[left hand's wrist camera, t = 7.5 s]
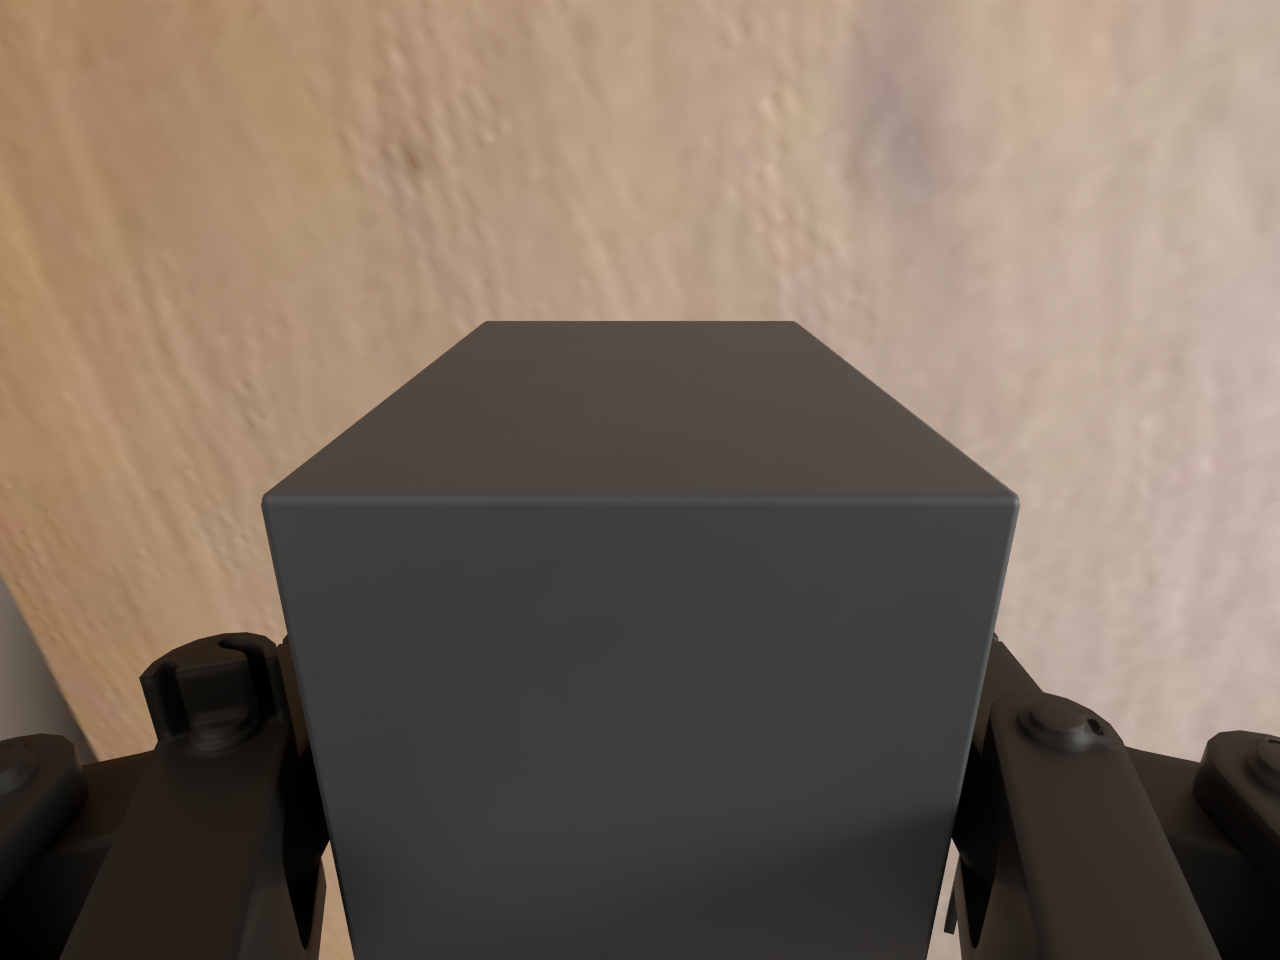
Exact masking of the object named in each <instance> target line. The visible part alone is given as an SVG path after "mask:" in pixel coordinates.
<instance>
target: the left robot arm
mask: <svg viewBox="0 0 1280 960" xmlns="http://www.w3.org/2000/svg"><path fill="white" fill-rule="evenodd" d="M139 679H140V682H141V685H142V689H143V692H144V695H145V699H146V702H147V705H148V709H149V712H150V715H151V719H152V722H153V725H154V729H155V732H156V735H157V739H158V742H157V744H156V747H155V749H154V750H151V751H147V752H144V753H140V754H135V755H130V756H125V757H121V758H116V759H111V760H106V761H102V762H97V763H92V764H87V765H83V766H81V763H80V760H79V757H78V754H77V752H76V749H75V746H74V744H73V743H72V742H70V741H69V740H68V739H66V738H65V737H63V736H60V735H51V734H35V735H28V736H22V737H15V738H11V739H7V740H3V741H0V960H318V958H319V949H320V940H321V931H322V922H323V913H324V904H325V895H326V880H325V873H324V868H323V863H322V859H321V856H322V854H323V852H324V850H325V848H326V846H327V844H328V842H329V840H330V838H329V833H328V828H327V824H326V819H325V814H324V809H323V804H322V799H321V794H320V789H319V785H318V780H317V775H316V770H315V765H314V760H313V755H312V750H311V746H310V741H309V736H308V731H307V726H306V721H305V716H304V711H303V707H302V702H301V697H300V692H299V687H298V682H297V677H296V673H295V668H294V663H293V658H292V653H291V648H290V643H289V638H288V634H287V635H286V637H285V638H284V639H283V644H279V645H278V646H277V648H276V644H275V643H274V642H272V641H271V640H270V639H268V638H267V637H266V636H263V635H258V634H253V633H248V632H243V633H224V634H219V635H215V636H211V637H206V638H202V639H198V640H195V641H193V642H190V643H188V644H185V645H183V646H181V647H178V648H176V649H173V650H171V651H170V652H168V653H167V654H165V655H164V656H162V657H161V658H159V659H157V660H156V661H154V662H153V663H152V664H151V665H150V666H149V667H148V668H147V669H146V670H145V672H144V673H143V674H142V675H141V676H140V677H139ZM952 839H953V841H954V843H955V845H956V847H957V849H958V852H959V859H958V863H957V868H956V873H955V877H954V882H953V887H952V891H951V896H950V901H949V905H948V910H947V915H946V921H945V927H944V932H946V933H950V934H954V931H955V927H956V922H957V920H958V929H959V938H960V947H961V956H962V960H1280V737H1276V736H1272V735H1268V734H1261V733H1255V732H1248V731H1241V730H1239V731H1230V732H1220V733H1218V734H1217V735H1215V736H1214V737H1213V738H1211V739H1210V740H1208V742H1207V745H1206V748H1205V751H1204V753H1203V756H1202V759H1201V762H1200V763H1199V762H1194V761H1189V760H1184V759H1180V758H1175V757H1170V756H1165V755H1161V754H1156V753H1151V752H1146V751H1141V750H1137V749H1134V748H1130V747H1126V746H1125V745H1124V743H1123V741H1122V739H1121V738H1120V736H1119V735H1118V734H1117V732H1116V731H1115V730H1114V728H1113V727H1112V726H1111V724H1109V723H1108V722H1107V721H1105V720H1104V719H1103V718H1101V717H1100V716H1099V715H1097V714H1096V713H1095V712H1093V711H1092V710H1091V709H1088V708H1086V707H1084V706H1082V705H1080V704H1078V703H1076V702H1074V701H1071V700H1069V699H1067V698H1063V697H1060V696H1056V695H1052V694H1048V693H1045V692H1043V691H1042V690H1041V689H1040V688H1039V687H1038V685H1037V684H1036V683H1035V682H1034V680H1033V679H1032V678H1031V677H1030V676H1029V674H1028V673H1027V672H1026V671H1025V669H1024V668H1023V667H1022V666H1021V665H1020V663H1019V662H1018V661H1017V660H1016V658H1015V657H1014V656H1013V655H1012V654H1011V652H1010V651H1009V650H1008V649H1007V647H1006V646H1005V645H1004V644H1003V643H1002V642H999V641H998V636H997V635H996V634H995V633H993V638H992V643H991V648H990V653H989V658H988V663H987V667H986V672H985V677H984V682H983V687H982V692H981V696H980V701H979V706H978V711H977V716H976V721H975V726H974V730H973V735H972V740H971V745H970V750H969V755H968V760H967V764H966V769H965V774H964V779H963V784H962V789H961V794H960V798H959V803H958V808H957V813H956V818H955V823H954V827H953V832H952Z"/></svg>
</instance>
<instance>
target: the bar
mask: <svg viewBox="0 0 1280 960" xmlns="http://www.w3.org/2000/svg"><path fill="white" fill-rule="evenodd" d="M261 507H262V512H263V517H264V521H265V526H266V531H267V536H268V541H269V546H270V551H271V556H272V560H273V565H274V570H275V575H276V580H277V585H278V590H279V595H280V599H281V604H282V609H283V614H284V619H285V624H286V629H287V634H288V638H289V643H290V648H291V653H292V658H293V663H294V668H295V673H296V677H297V682H298V687H299V692H300V697H301V702H302V707H303V711H304V716H305V721H306V726H307V731H308V736H309V741H310V746H311V750H312V755H313V760H314V765H315V770H316V775H317V780H318V785H319V789H320V794H321V799H322V804H323V809H324V814H325V819H326V824H327V828H328V833H329V838H330V843H331V848H332V853H333V858H334V863H335V867H336V872H337V877H338V882H339V887H340V892H341V897H342V902H343V906H344V911H345V916H346V921H347V926H348V931H349V936H350V941H351V945H352V950H353V955H354V960H926V958H927V954H928V949H929V944H930V939H931V934H932V929H933V925H934V920H935V915H936V910H937V905H938V900H939V895H940V891H941V886H942V881H943V876H944V871H945V866H946V861H947V857H948V852H949V847H950V842H951V837H952V832H953V827H954V823H955V818H956V813H957V808H958V803H959V798H960V794H961V789H962V784H963V779H964V774H965V769H966V764H967V760H968V755H969V750H970V745H971V740H972V735H973V730H974V726H975V721H976V716H977V711H978V706H979V701H980V696H981V692H982V687H983V682H984V677H985V672H986V667H987V663H988V658H989V653H990V648H991V643H992V638H993V633H994V629H995V624H996V619H997V614H998V609H999V604H1000V599H1001V595H1002V590H1003V585H1004V580H1005V575H1006V570H1007V565H1008V561H1009V556H1010V551H1011V546H1012V541H1013V536H1014V532H1015V527H1016V522H1017V517H1018V512H1019V507H1020V503H1019V498H1018V495H1017V494H1015V493H1014V492H1013V491H1012V490H1010V489H1009V488H1008V487H1007V486H1005V485H1004V484H1003V483H1001V482H1000V481H999V480H998V479H996V478H995V477H994V476H992V475H991V474H990V473H989V472H987V471H986V470H985V469H983V468H982V467H981V466H980V465H978V464H977V463H976V462H975V461H973V460H972V459H971V458H969V457H968V456H967V455H966V454H964V453H963V452H962V451H960V450H959V449H958V448H957V447H955V446H954V445H953V444H951V443H950V442H949V441H948V440H946V439H945V438H944V437H943V436H941V435H940V434H939V433H937V432H936V431H935V430H934V429H932V428H931V427H930V426H928V425H927V424H926V423H925V422H923V421H922V420H921V419H919V418H918V417H917V416H916V415H914V414H913V413H912V412H911V411H909V410H908V409H907V408H905V407H904V406H903V405H902V404H900V403H899V402H898V401H896V400H895V399H894V398H893V397H891V396H890V395H889V394H887V393H886V392H885V391H884V390H882V389H881V388H880V387H879V386H877V385H876V384H875V383H873V382H872V381H871V380H870V379H868V378H867V377H866V376H864V375H863V374H862V373H861V372H859V371H858V370H857V369H855V368H854V367H853V366H852V365H850V364H849V363H848V362H846V361H845V360H844V359H843V358H841V357H840V356H839V355H838V354H836V353H835V352H834V351H832V350H831V349H830V348H829V347H827V346H826V345H825V344H823V343H822V342H821V341H820V340H818V339H817V338H816V337H814V336H813V335H812V334H811V333H809V332H808V331H807V330H806V329H804V328H803V327H802V326H800V325H799V324H798V323H796V322H794V321H486V322H484V323H483V324H481V325H480V326H479V327H477V328H476V329H475V330H474V331H472V332H471V333H470V334H469V335H467V336H466V337H465V338H463V339H462V340H461V341H460V342H458V343H457V344H456V345H454V346H453V347H452V348H451V349H449V350H448V351H447V352H446V353H444V354H443V355H442V356H440V357H439V358H438V359H437V360H435V361H434V362H433V363H431V364H430V365H429V366H428V367H426V368H425V369H424V370H423V371H421V372H420V373H419V374H417V375H416V376H415V377H414V378H412V379H411V380H410V381H408V382H407V383H406V384H405V385H403V386H402V387H401V388H400V389H398V390H397V391H396V392H394V393H393V394H392V395H391V396H389V397H388V398H387V399H386V400H384V401H383V402H382V403H380V404H379V405H378V406H377V407H375V408H374V409H373V410H371V411H370V412H369V413H368V414H366V415H365V416H364V417H363V418H361V419H360V420H359V421H357V422H356V423H355V424H354V425H352V426H351V427H350V428H348V429H347V430H346V431H345V432H343V433H342V434H341V435H340V436H338V437H337V438H336V439H334V440H333V441H332V442H331V443H329V444H328V445H327V446H325V447H324V448H323V449H322V450H320V451H319V452H318V453H317V454H315V455H314V456H313V457H311V458H310V459H309V460H308V461H306V462H305V463H304V464H302V465H301V466H300V467H299V468H297V469H296V470H295V471H294V472H292V473H291V474H290V475H288V476H287V477H286V478H285V479H283V480H282V481H281V482H279V483H278V484H277V485H276V486H274V487H273V488H272V489H271V490H269V491H268V492H267V493H265V494H264V495H263V498H262V504H261Z"/></svg>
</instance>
